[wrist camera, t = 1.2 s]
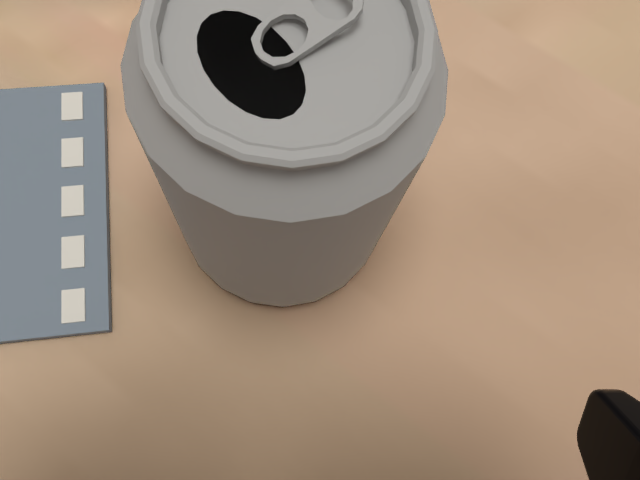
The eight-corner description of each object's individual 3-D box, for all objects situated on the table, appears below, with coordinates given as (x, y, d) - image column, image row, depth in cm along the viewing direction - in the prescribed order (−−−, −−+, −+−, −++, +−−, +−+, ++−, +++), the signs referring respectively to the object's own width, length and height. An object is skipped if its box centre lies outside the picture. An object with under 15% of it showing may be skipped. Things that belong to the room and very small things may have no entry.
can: (146, 196, 24) (26, -22, 12) (300, 98, 25) (323, -174, 14) (260, 352, 22) (247, 271, 11) (415, 235, 24) (546, 60, 12)
